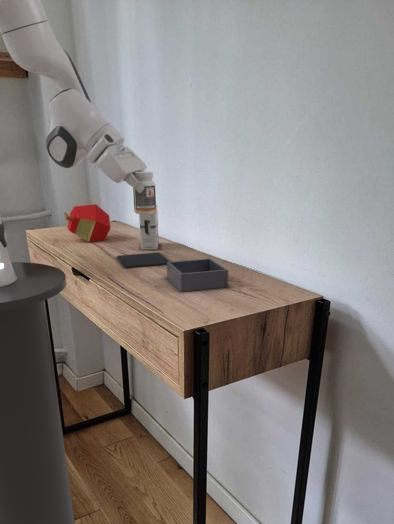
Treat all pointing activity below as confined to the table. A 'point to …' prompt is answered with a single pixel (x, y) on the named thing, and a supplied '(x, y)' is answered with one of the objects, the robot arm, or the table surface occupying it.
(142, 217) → the ink box
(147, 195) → the pill bottle
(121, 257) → the mat
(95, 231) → the apple
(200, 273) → the open box
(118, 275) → the table surface
